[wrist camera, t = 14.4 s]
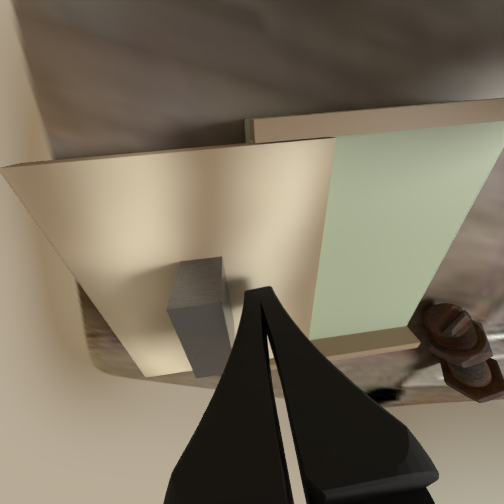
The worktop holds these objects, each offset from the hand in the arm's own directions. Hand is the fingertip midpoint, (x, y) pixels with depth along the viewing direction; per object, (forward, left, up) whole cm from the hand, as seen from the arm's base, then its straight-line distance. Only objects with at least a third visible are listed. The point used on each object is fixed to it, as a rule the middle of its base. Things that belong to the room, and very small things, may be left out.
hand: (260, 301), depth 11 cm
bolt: (-21, +14, -5) cm, 26 cm away
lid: (+3, 0, -2) cm, 3 cm away
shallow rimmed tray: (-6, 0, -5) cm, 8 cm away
